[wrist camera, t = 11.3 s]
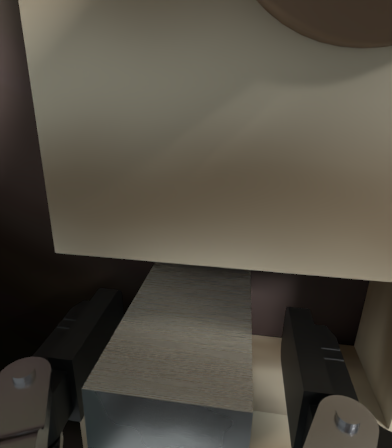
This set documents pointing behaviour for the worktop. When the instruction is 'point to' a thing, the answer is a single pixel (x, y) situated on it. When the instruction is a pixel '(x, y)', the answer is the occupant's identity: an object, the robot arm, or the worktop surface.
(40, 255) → the worktop surface
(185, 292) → the tab peg
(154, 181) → the notched board
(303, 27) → the bobbin
